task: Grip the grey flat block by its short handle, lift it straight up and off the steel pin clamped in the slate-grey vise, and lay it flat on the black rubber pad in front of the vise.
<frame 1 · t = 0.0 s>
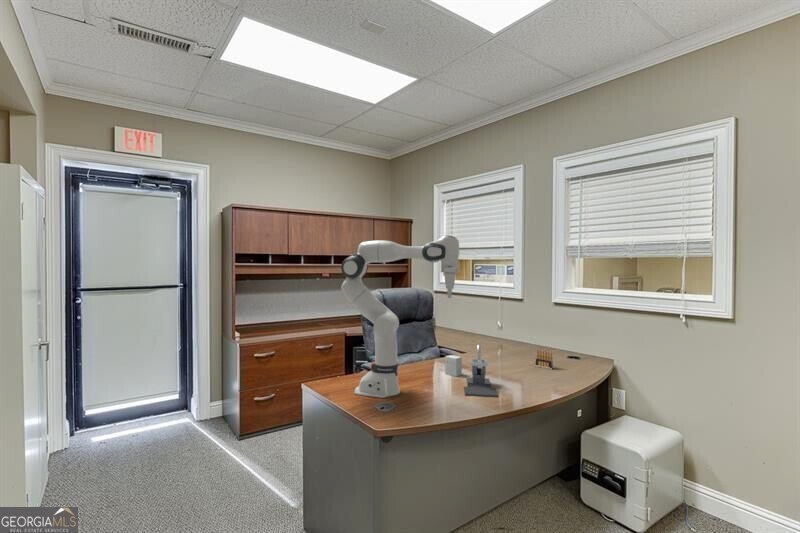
hand: (449, 297, 197), 48 cm above the table, tool pointing down, fingers open, 8 cm apart
vise: (478, 384, 216), on the table
pad: (480, 392, 202), on the table
ammunition clip: (544, 368, 254), on the table
small box: (453, 375, 235), on the table
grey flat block: (478, 363, 216), point 11 cm above the table, touching vise
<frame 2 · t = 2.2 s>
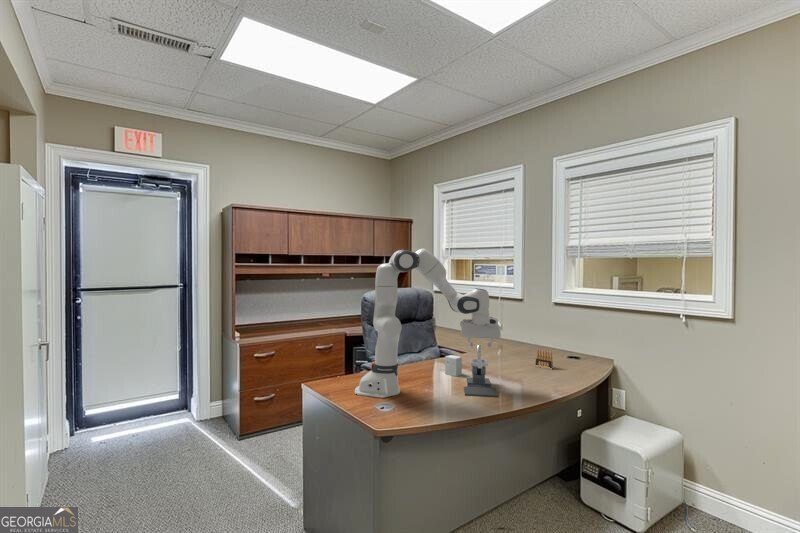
hand: (480, 346, 209), 22 cm above the table, tool pointing down, fingers open, 8 cm apart
nothing on the table moved.
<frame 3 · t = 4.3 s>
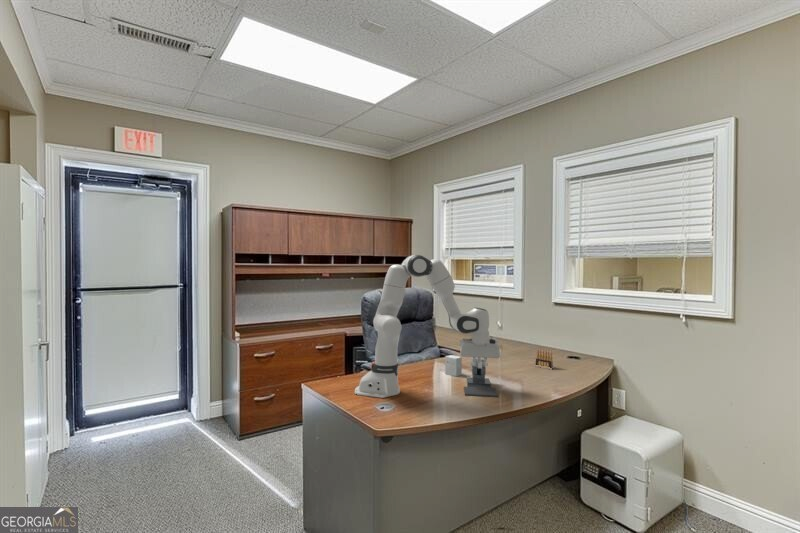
hand: (479, 365, 209), 12 cm above the table, tool pointing down, fingers closed on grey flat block, 2 cm apart
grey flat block: (478, 363, 216), point 11 cm above the table, touching gripper, vise
everything else where it was.
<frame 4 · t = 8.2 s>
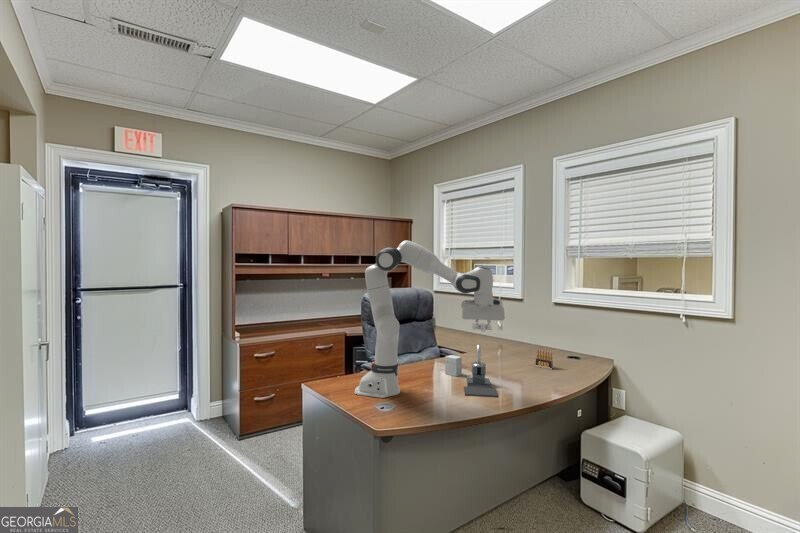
hand: (482, 329, 195), 33 cm above the table, tool pointing down, fingers closed on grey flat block
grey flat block: (481, 328, 202), point 32 cm above the table, touching gripper
everything else where it was.
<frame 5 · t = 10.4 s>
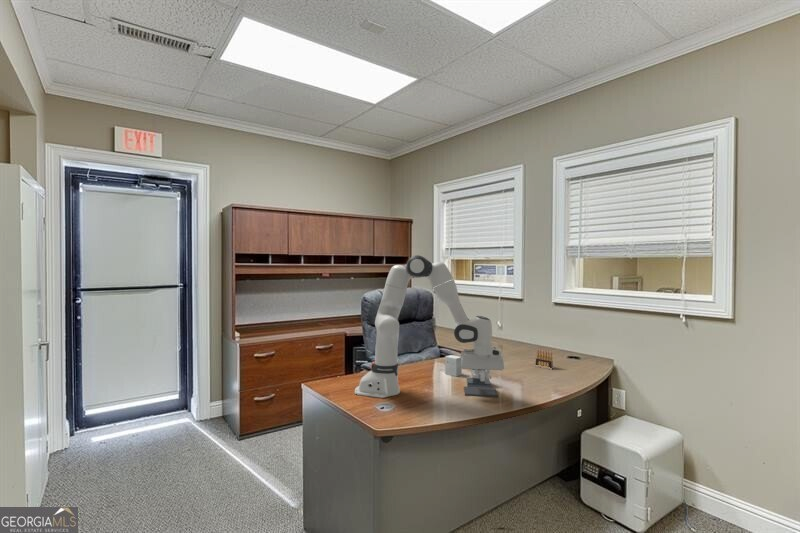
hand: (482, 378, 195), 9 cm above the table, tool pointing down, fingers closed on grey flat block, 2 cm apart
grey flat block: (480, 375, 202), point 8 cm above the table, touching gripper
everything else where it was.
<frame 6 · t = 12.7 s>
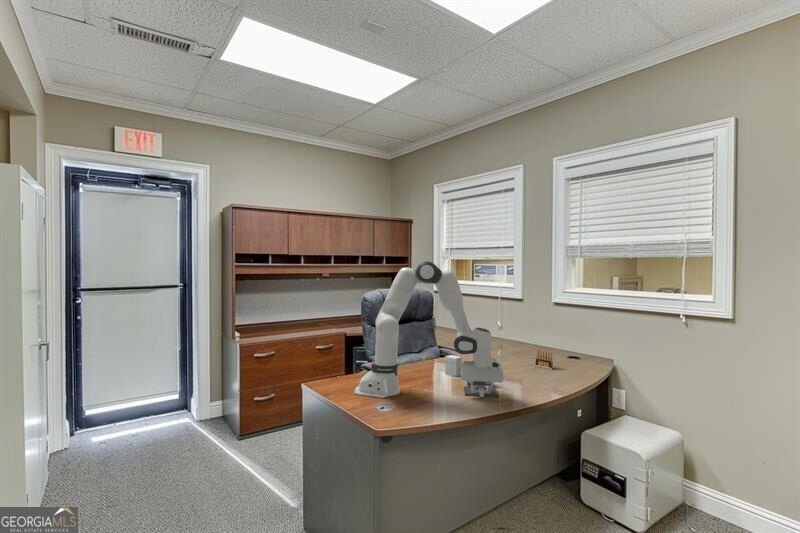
hand: (481, 390, 195), 3 cm above the table, tool pointing down, fingers open, 6 cm apart
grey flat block: (480, 390, 202), point 1 cm above the table, touching pad
everything else where it was.
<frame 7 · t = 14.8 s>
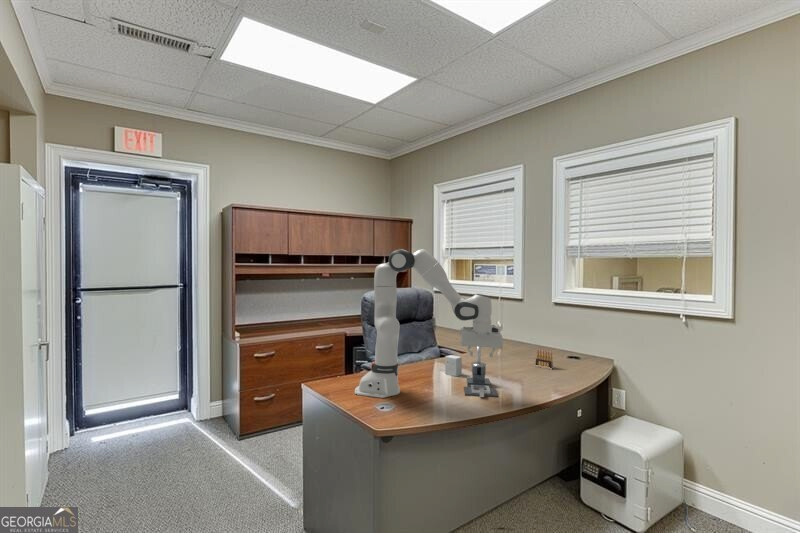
hand: (481, 356, 196), 20 cm above the table, tool pointing down, fingers open, 8 cm apart
nothing on the table moved.
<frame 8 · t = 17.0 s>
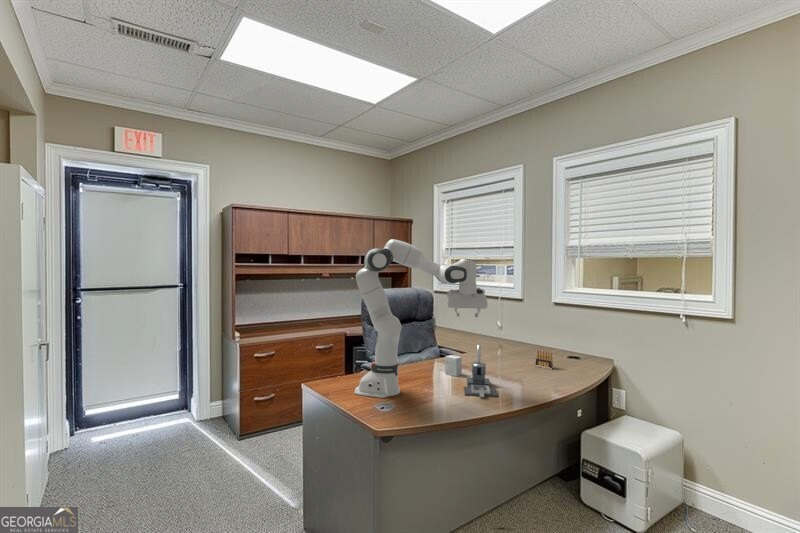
hand: (467, 316, 208), 37 cm above the table, tool pointing down, fingers open, 8 cm apart
nothing on the table moved.
at the end: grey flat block inside the target area on the pad (0.1 cm from its centre), point 0.8 cm above the pad's base; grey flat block touching pad; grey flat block tilted 0° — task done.
